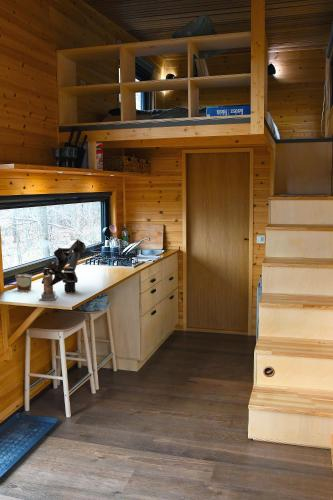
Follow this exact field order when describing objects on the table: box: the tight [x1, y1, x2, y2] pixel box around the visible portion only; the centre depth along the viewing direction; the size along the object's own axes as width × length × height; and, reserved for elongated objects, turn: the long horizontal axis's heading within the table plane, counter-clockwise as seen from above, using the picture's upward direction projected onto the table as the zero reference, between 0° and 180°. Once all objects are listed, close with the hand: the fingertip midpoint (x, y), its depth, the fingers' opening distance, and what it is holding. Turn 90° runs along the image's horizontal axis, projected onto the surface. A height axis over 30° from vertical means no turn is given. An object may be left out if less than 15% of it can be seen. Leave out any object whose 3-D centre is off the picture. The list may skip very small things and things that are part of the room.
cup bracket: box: [38, 290, 59, 302], centre depth 305 cm, size 10×10×4 cm
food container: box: [14, 273, 33, 292], centre depth 330 cm, size 12×6×10 cm, turn 71°
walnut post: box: [42, 275, 54, 294], centre depth 304 cm, size 4×4×13 cm
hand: (46, 284), depth 303 cm, fingers open, 9 cm apart
